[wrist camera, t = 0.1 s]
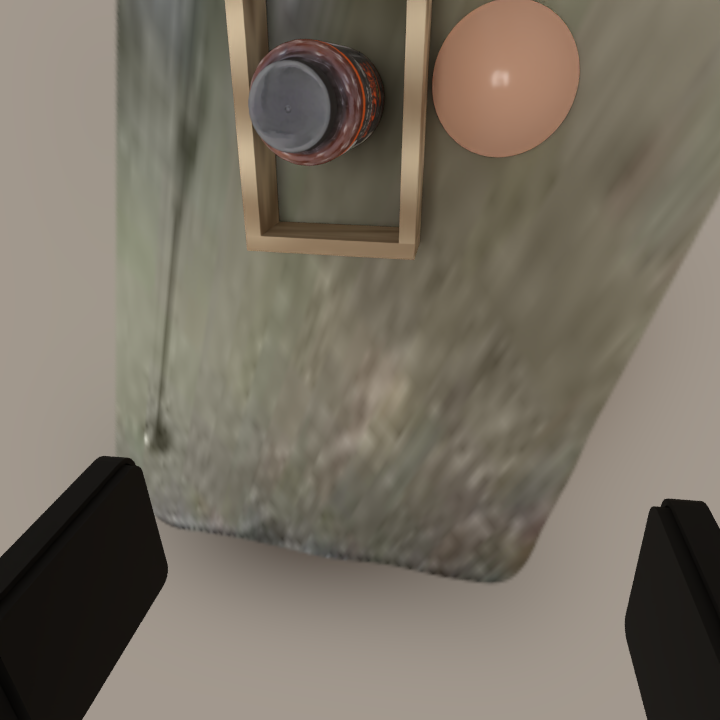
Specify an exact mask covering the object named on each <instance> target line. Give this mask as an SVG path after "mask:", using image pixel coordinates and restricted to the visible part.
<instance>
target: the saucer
mask: <svg viewBox="0 0 720 720" xmlns="http://www.w3.org/2000/svg"><path fill="white" fill-rule="evenodd" d="M579 73H580V67H579V56H578V50H577V47H576V44H575V41H574V38H573V36H572V34H571V32H570V30H569V29H568V27H567V26H566V24H565V23H564V22H563V20H562V19H561V18H560V17H559V16H558V15H557V14H556V13H554V12H553V11H552V10H551V9H549V8H547V7H546V6H544V5H542V4H540V3H537V2H535V1H532V0H496V1H492V2H489V3H487V4H484V5H482V6H480V7H478V8H477V9H475V10H473V11H472V12H470V13H469V14H468V15H466V16H465V17H464V18H463V19H462V20H461V21H460V22H459V23H458V24H457V25H456V26H455V27H454V28H453V29H452V31H451V32H450V33H449V35H448V36H447V38H446V39H445V41H444V43H443V45H442V47H441V49H440V51H439V54H438V56H437V59H436V62H435V67H434V71H433V79H432V93H433V101H434V105H435V109H436V112H437V115H438V117H439V120H440V122H441V123H442V125H443V127H444V129H445V130H446V131H447V133H448V134H449V135H450V136H451V137H452V138H453V139H454V140H455V141H456V142H457V143H458V144H460V145H461V146H462V147H464V148H466V149H467V150H469V151H471V152H474V153H476V154H479V155H483V156H488V157H507V156H513V155H517V154H520V153H523V152H526V151H528V150H530V149H532V148H534V147H536V146H537V145H539V144H541V143H542V142H543V141H544V140H546V139H547V138H548V137H549V136H550V135H551V134H552V133H553V132H554V131H555V130H556V129H557V128H558V127H559V126H560V124H561V123H562V122H563V120H564V119H565V117H566V115H567V114H568V112H569V110H570V108H571V106H572V104H573V101H574V98H575V95H576V92H577V88H578V83H579Z"/></svg>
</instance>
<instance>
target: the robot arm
mask: <svg viewBox="0 0 720 720" xmlns="http://www.w3.org/2000/svg"><path fill="white" fill-rule="evenodd" d="M167 573H168V565H167V561H166V557H165V554H164V550H163V546H162V542H161V539H160V535H159V531H158V528H157V524H156V520H155V516H154V513H153V509H152V505H151V501H150V498H149V494H148V490H147V486H146V483H145V479H144V475H143V472H142V470H141V468H140V467H138V466H136V465H135V463H134V461H133V460H132V459H130V458H124V457H110V456H102V457H99V458H98V459H96V460H95V461H94V462H93V463H92V464H91V465H90V466H89V467H88V468H87V469H86V470H85V471H84V472H83V473H82V474H81V475H80V476H79V477H78V478H77V479H76V480H75V481H74V482H73V483H72V484H71V485H70V486H69V488H68V489H67V490H66V491H65V492H64V493H63V494H62V495H61V496H60V497H59V498H58V499H57V500H56V501H55V502H54V503H53V504H52V505H51V506H50V507H49V508H48V509H47V510H46V511H45V512H44V513H43V514H42V515H41V516H40V517H39V518H38V519H37V521H35V522H34V523H33V524H32V525H31V526H30V528H29V529H28V530H27V531H26V532H25V533H24V534H23V535H22V536H21V537H20V538H19V539H18V540H17V541H16V542H15V543H14V544H13V545H12V546H11V547H10V548H9V549H8V550H7V551H6V552H5V553H4V554H3V555H2V556H1V557H0V720H82V719H83V717H84V716H85V714H86V712H87V711H88V709H89V708H90V706H91V704H92V703H93V701H94V699H95V698H96V696H97V694H98V693H99V691H100V689H101V688H102V686H103V684H104V683H105V681H106V679H107V677H108V676H109V675H110V672H111V671H112V670H113V668H114V666H115V665H116V663H117V661H118V660H119V658H120V656H121V655H122V653H123V651H124V650H125V648H126V646H127V645H128V643H129V642H130V640H131V638H132V637H133V635H134V633H135V632H136V630H137V628H138V627H139V625H140V623H141V622H142V620H143V618H144V617H145V615H146V613H147V612H148V610H149V609H150V607H151V605H152V604H153V602H154V600H155V599H156V597H157V595H158V594H159V592H160V590H161V589H162V587H163V585H164V583H165V581H166V578H167ZM625 633H626V639H627V643H628V647H629V651H630V655H631V658H632V663H633V666H634V670H635V674H636V678H637V681H638V686H639V689H640V693H641V697H642V701H643V705H644V709H645V712H646V716H647V720H720V529H719V527H718V525H717V523H716V521H715V519H714V517H713V515H712V513H711V511H710V510H709V508H708V506H707V505H706V503H704V502H702V501H691V500H679V499H664V501H663V502H662V505H661V507H651V509H650V511H649V515H648V519H647V524H646V528H645V532H644V537H643V541H642V546H641V550H640V554H639V559H638V563H637V567H636V572H635V576H634V581H633V585H632V589H631V594H630V598H629V603H628V607H627V611H626V616H625Z"/></svg>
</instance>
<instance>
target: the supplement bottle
mask: <svg viewBox="0 0 720 720" xmlns="http://www.w3.org/2000/svg"><path fill="white" fill-rule="evenodd" d="M383 106H384V89H383V85H382V82H381V78H380V76H379V74H378V72H377V70H376V68H375V67H374V65H373V64H372V63H371V62H370V61H369V60H368V58H367V57H366V56H364V55H363V54H362V53H360V52H358V51H356V50H354V49H352V48H349V47H346V46H342V45H337V44H333V43H328V42H323V41H319V40H312V39H296V40H292V41H288V42H285V43H283V44H281V45H279V46H277V47H276V48H274V49H273V50H271V51H270V52H269V53H268V54H267V55H266V56H265V57H264V58H263V59H262V60H261V62H260V63H259V65H258V67H257V68H256V71H255V72H254V75H253V78H252V81H251V86H250V92H249V99H248V108H249V115H250V119H251V121H252V124H253V126H254V128H255V130H256V132H257V133H258V135H259V136H260V138H261V139H262V141H263V142H264V143H265V144H266V146H267V147H268V148H269V149H270V150H271V151H272V152H274V153H275V154H276V155H278V156H279V157H281V158H282V159H284V160H286V161H289V162H291V163H294V164H298V165H307V166H312V165H320V164H323V163H326V162H329V161H331V160H333V159H335V158H337V157H339V156H340V155H342V154H344V153H346V152H347V151H349V150H351V149H353V148H354V147H356V146H357V145H359V144H361V143H362V142H364V141H365V140H366V139H367V138H368V137H369V136H370V135H371V134H372V133H373V131H374V130H375V129H376V127H377V125H378V123H379V121H380V119H381V116H382V111H383Z"/></svg>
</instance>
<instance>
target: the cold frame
mask: <svg viewBox="0 0 720 720" xmlns="http://www.w3.org/2000/svg"><path fill="white" fill-rule="evenodd" d="M225 7H226V18H227V29H228V40H229V52H230V63H231V74H232V85H233V96H234V107H235V119H236V130H237V141H238V152H239V163H240V174H241V186H242V197H243V208H244V219H245V230H246V242H247V250H248V251H266V252H284V253H301V254H319V255H337V256H354V257H372V258H390V259H407V260H414V259H415V256H416V253H417V250H418V247H419V243H420V228H421V208H422V189H423V169H424V150H425V130H426V110H427V91H428V71H429V52H430V32H431V12H432V0H407V19H406V48H405V77H404V107H403V136H402V165H401V195H400V224H399V227H384V226H363V225H342V224H321V223H300V222H279V208H278V192H277V176H276V159H275V153H274V152H272V151H271V150H270V149H269V148H268V147H267V146H266V144H265V143H264V142H263V141H262V139H261V138H260V136H259V135H258V133H257V132H256V130H255V128H254V126H253V124H252V121H251V119H250V115H249V108H248V99H249V92H250V86H251V81H252V78H253V75H254V72H255V71H256V68H257V67H258V65H259V63H260V62H261V60H262V59H263V58H264V57H265V56H266V55H267V54H268V53H269V46H268V30H267V14H266V0H225Z"/></svg>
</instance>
